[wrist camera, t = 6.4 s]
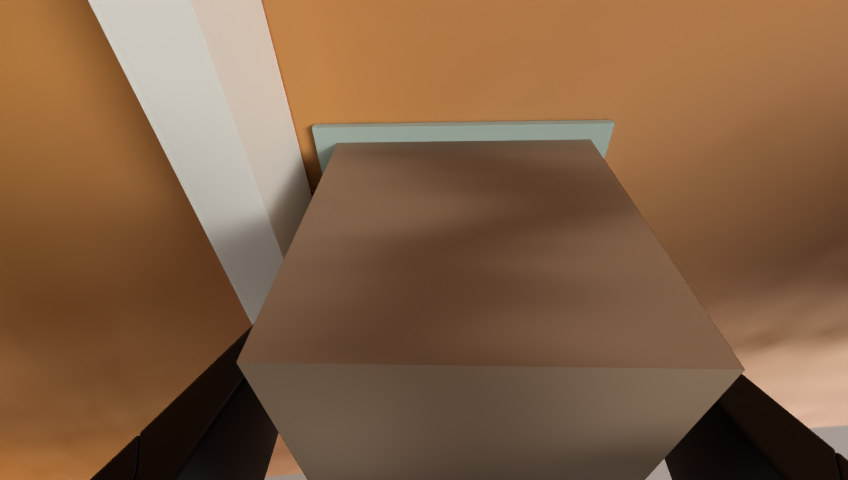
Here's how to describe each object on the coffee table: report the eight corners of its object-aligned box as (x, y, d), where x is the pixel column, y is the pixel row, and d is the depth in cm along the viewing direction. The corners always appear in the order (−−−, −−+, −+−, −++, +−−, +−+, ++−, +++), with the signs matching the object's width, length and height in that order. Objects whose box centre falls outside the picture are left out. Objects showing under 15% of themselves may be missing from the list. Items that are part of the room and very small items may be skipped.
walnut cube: (590, 139, 9) (744, 369, 4) (546, 307, 13) (604, 523, 8) (337, 142, 9) (236, 362, 5) (368, 305, 13) (328, 514, 9)
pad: (612, 119, 9) (615, 123, 9) (555, 314, 13) (556, 319, 13) (313, 124, 9) (311, 127, 9) (355, 312, 14) (354, 317, 14)
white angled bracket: (971, -128, 6) (1208, -147, 4) (657, 364, 15) (688, 429, 13) (153, -93, 7) (39, -97, 5) (317, 359, 16) (300, 421, 14)
